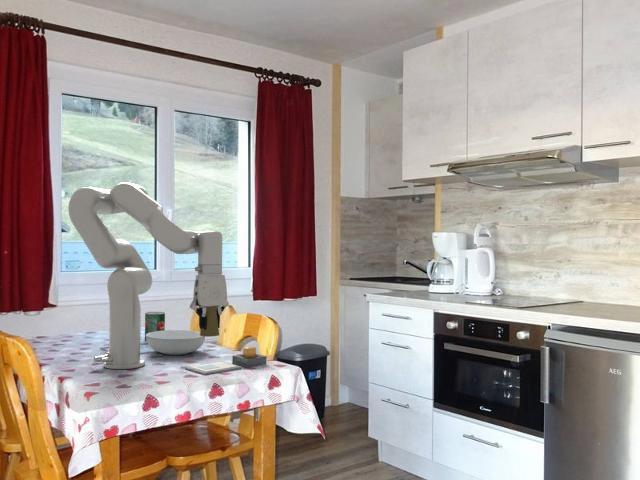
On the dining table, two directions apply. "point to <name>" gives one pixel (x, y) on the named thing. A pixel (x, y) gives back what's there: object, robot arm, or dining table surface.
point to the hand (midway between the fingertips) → (209, 327)
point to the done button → (249, 352)
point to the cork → (211, 322)
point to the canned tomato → (154, 322)
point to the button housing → (249, 360)
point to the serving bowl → (175, 341)
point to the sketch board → (213, 368)
